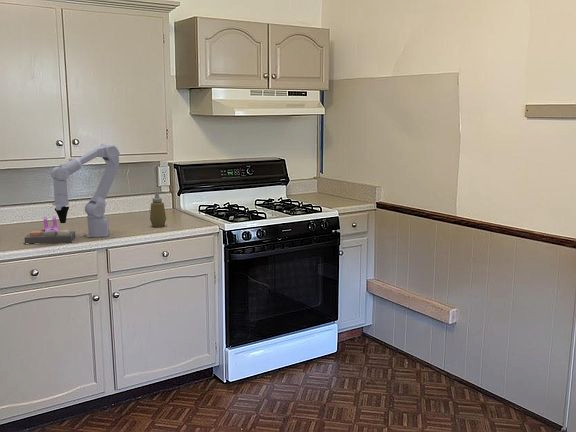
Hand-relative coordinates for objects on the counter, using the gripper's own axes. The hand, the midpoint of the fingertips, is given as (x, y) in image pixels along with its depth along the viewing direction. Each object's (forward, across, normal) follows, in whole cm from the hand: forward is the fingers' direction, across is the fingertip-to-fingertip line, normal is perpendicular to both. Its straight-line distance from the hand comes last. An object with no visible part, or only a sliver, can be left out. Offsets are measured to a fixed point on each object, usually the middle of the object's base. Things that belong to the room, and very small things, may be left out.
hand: (63, 222), depth 271 cm
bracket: (+9, -20, -10) cm, 24 cm away
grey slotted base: (+8, 0, -6) cm, 10 cm away
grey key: (+7, 0, -6) cm, 9 cm away
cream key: (+7, 0, 0) cm, 7 cm away
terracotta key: (+7, 0, -12) cm, 14 cm away
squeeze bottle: (+8, -25, +41) cm, 49 cm away
